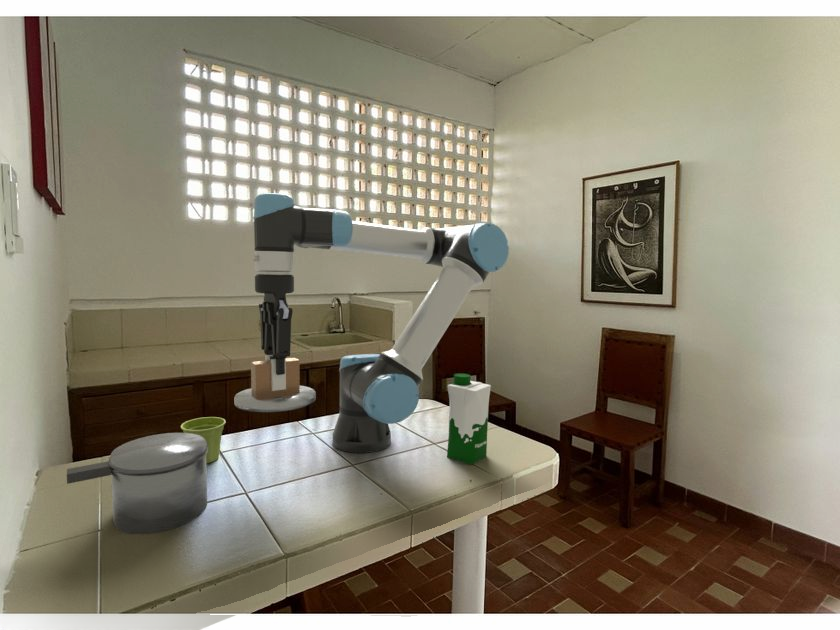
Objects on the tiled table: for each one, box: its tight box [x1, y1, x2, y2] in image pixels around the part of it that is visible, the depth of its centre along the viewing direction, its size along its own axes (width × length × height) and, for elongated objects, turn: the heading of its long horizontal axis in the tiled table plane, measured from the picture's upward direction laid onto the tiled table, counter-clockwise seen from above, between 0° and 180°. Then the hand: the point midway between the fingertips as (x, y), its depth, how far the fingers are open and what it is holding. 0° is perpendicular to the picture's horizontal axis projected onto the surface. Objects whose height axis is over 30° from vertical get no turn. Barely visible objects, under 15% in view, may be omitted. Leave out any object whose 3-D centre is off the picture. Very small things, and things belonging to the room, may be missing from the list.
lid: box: [233, 357, 317, 413], centre depth 95 cm, size 16×16×8 cm
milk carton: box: [446, 372, 492, 466], centre depth 111 cm, size 9×9×20 cm
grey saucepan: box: [66, 432, 208, 535], centre depth 82 cm, size 21×16×12 cm
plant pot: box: [180, 416, 227, 464], centre depth 107 cm, size 9×9×9 cm
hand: (275, 387), depth 95 cm, fingers closed on lid, 3 cm apart
